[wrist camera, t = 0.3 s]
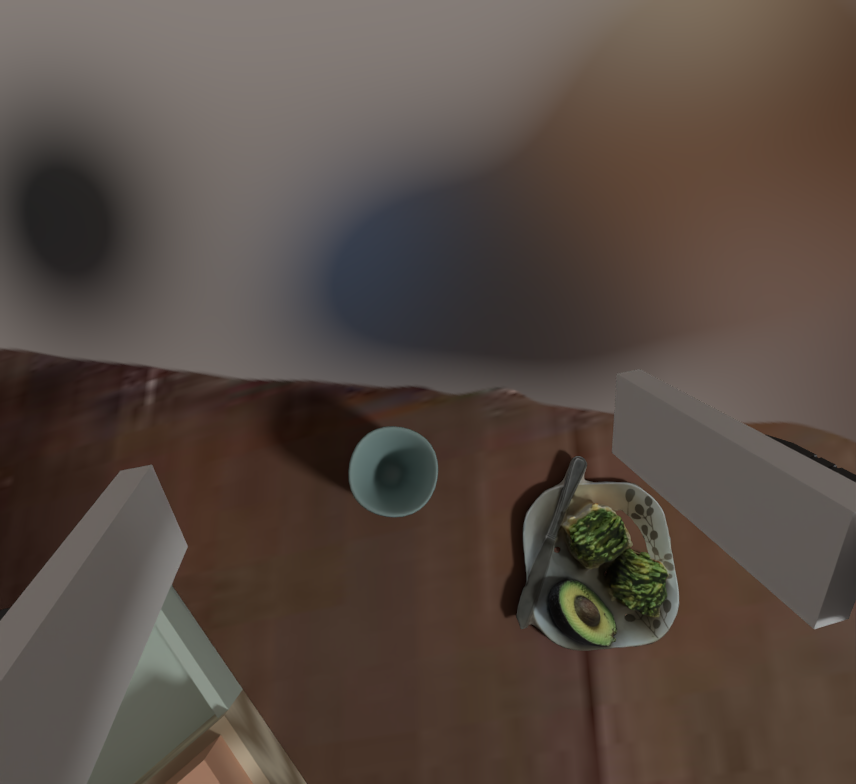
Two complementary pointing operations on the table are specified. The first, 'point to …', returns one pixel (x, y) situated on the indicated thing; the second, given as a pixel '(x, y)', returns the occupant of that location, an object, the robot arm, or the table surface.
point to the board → (233, 748)
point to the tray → (165, 696)
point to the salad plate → (596, 566)
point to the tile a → (212, 767)
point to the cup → (393, 471)
